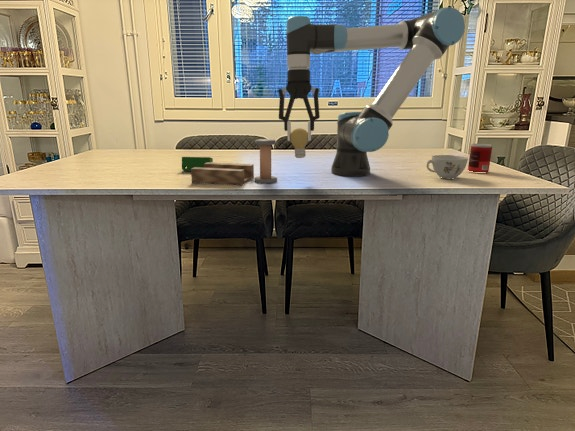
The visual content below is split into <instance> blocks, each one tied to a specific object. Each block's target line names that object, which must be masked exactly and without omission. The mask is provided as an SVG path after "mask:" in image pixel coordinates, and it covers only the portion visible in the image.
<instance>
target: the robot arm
mask: <svg viewBox="0 0 575 431" xmlns="http://www.w3.org/2000/svg"><path fill="white" fill-rule="evenodd" d="M465 30H466V25H465V18H464V15H463V14H462V12H461V11H460V10H459V9H457V8H455V7H451V6H448V7H447V6H446V7H441V8H438V9H437V10H435V11H432V12H428V13H427V14H424V15H421V16H418V17H416V18H413V19H408V20H401V21H399V22H398V24H396V23H395V24H385V25H384V24H383V25H373V26H360V27H359V26H358V27H346V26H345V24H337V23H335V24H329V23H328V24H323V23H321V24H314V23H311V18H310V17H309V16H304V15H296V16H290V17H288V19H287V20H286V32H285V34H286V68H287V69H288V70H287V74H286V75H287V76H286V77H287V80H286V81H287V83H286V87H284V88H279V89H278V91H277V92H278V94H279V106H278V119H279V120H282V121H283V124H284V125H283V126H284V128H283V130H284V131H285V132H287V141H288V142H291V140H290V135H291V133H292V121H291V120H290V117H291V113H292V110H293V106H294V104H295V103H294V102H295V100H297V99H299V100H303V102H304V105H305V109H306V112H307V114H308V118H309V120H308V121H307V133H308V142H311V141H312V132H314V131H315V121H316V120H318V119H320V116H321V115H320V106H319V105H320V104H319V94H320V88H317V87H312V84H311V70H310V68H311V54H312V55H321V54H324V53H325V54H328V53H338V52H349V51H350V52H351V51H363V50H374V49H375V50H377V49H385V48H386V49H387V48H398V49H399V50H409V51H408V52H407V53H406V55H405V57H404V58H403V59H402V61H401V62H400V64H399V65H398V66H397V68H396V70H394V72H393V73H392V74H391V76H390V78H389V79H388V81H387V82H386V83H385V85H384V86H383V88H382V89H381V91H380V92H379V94H378V95H377V96H376V97H375V99H374V100H373V102H372V103H371V104H368V105H365V106H364V107H363V108H362V110H361V111H350V112H349V111H347V112H342V113H339V114H338V117H337V122H336V124H337V130H336V132H337V133H336V154H335V156H334V158H333V162H332V165H331V168H330V169H331V171H330V172H331V173H332V175H333V174H334V175H337V176H343V177H363V176H368V175H370V174H371V165H370V162H369V158H368V153H369V152H370V153H372V152H376V151H379V150H380V149H381V148H383V147H384V146H385V145H386V143H387V142H388V140H389V132H390V129H391V128H392V126H393V118H394V116H395V114H396V113H397V112H398V111H399V109H400V108H401V106H402V105H403V104H404V103H405V101H406V100H407V98H408V96H409V95H410V94H411V93H412V91H413V89H414V88H415V87H416V86H417V84H418V83H419V81H420V80H421V78H422V77H423V76H424V75H425V73H426V71H427V70H428V69H429V67H430V66H431V65H432V63H433V61H434V60H440V59H441V58H442V57H443V56H444V54H445V53H446V52H447V50H448V49H449V47H450V46H454V45H455V44H457V43H459V42H460V40H461V39H462V38H463V36H464V33H465ZM286 92H287V93H288V94H289V96H290V97H289V102H288V105H287V108H286V111H285V96H286V95H287V93H286ZM311 92H312V93H311ZM310 93H311V94H312V95H313V101H314V102H313V104H314V114H313V110H312V107H311V103H310V101H309V98H308V97H309V96H308V95H309V94H310ZM284 111H285V112H284ZM367 152H368V153H367Z"/></svg>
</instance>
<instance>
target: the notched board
mask: <svg viewBox="0 0 575 431" xmlns="http://www.w3.org/2000/svg"><path fill="white" fill-rule="evenodd" d="M254 165H255V164H253V163H252V164H251V163H233V162H231V163H230V162H229V163H228V162H207V163H205V164H204V168H202V167H194V168H192V169H191V171H190V173H191V183H192V184H201V185H204V184H205V185H221V186H239V187H241V186H243V185H245V184H247V183H248V182H250V181H251V180H254V178H255V174H254V170H255V169H254V168H255V166H254Z"/></svg>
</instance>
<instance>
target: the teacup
mask: <svg viewBox="0 0 575 431" xmlns="http://www.w3.org/2000/svg"><path fill="white" fill-rule="evenodd" d="M468 162H469V157H467V156H460V155H452V154H451V155H450V154H439V155H432V156H431V159H429V160H428V161H427V162H426V169H427V170H428V171H429V172H431V173H435V174H437V176H438V178H440V177H442V178H441V179H443V178H456V179H457V178H458V177H459V176H460V175H461V174H462V173H463V171H464V170H465V168H467V163H468ZM430 164H431V165H432V168H433V169H432V168H430V167H429V166H430Z"/></svg>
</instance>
